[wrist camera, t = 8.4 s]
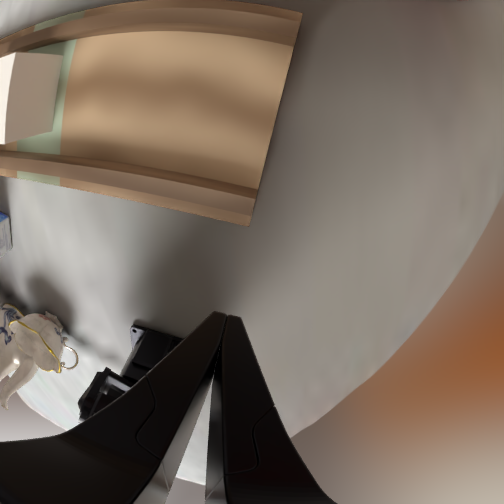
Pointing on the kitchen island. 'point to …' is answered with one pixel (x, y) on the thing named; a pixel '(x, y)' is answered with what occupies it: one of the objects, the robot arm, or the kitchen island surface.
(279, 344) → the kitchen island surface
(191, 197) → the light wood shallow tray
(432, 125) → the kitchen island surface
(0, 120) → the cream block
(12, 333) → the chinaware
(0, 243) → the medicine box
